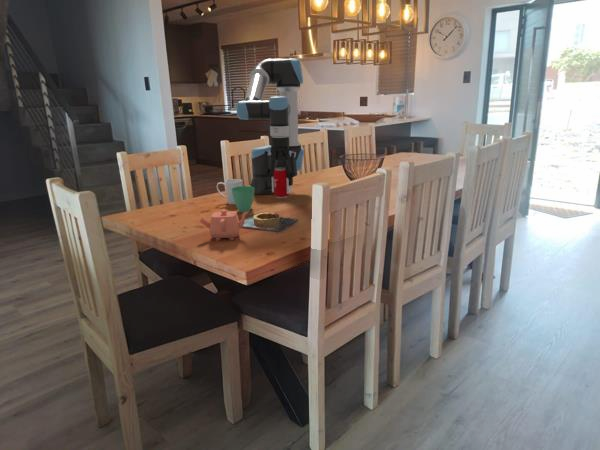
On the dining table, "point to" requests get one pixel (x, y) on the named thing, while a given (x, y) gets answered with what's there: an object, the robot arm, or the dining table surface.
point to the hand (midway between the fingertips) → (281, 192)
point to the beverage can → (280, 182)
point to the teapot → (224, 224)
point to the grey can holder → (268, 222)
